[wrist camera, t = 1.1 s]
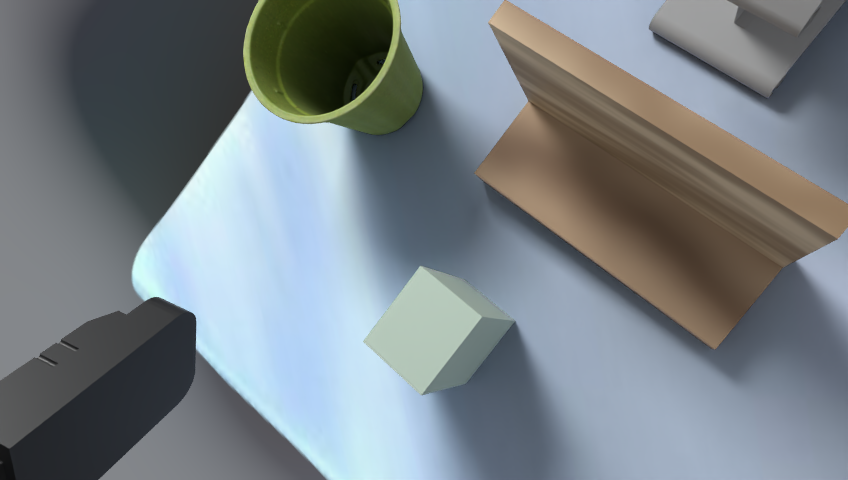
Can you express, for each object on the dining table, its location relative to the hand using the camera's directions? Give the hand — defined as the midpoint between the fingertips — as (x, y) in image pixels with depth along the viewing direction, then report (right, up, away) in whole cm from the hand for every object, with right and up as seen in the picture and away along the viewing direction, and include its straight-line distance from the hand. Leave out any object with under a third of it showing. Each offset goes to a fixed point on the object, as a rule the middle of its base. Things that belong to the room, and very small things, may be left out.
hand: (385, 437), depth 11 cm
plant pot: (-3, +15, +43) cm, 45 cm away
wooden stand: (+15, +5, +35) cm, 38 cm away
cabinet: (+4, -3, +37) cm, 38 cm away
